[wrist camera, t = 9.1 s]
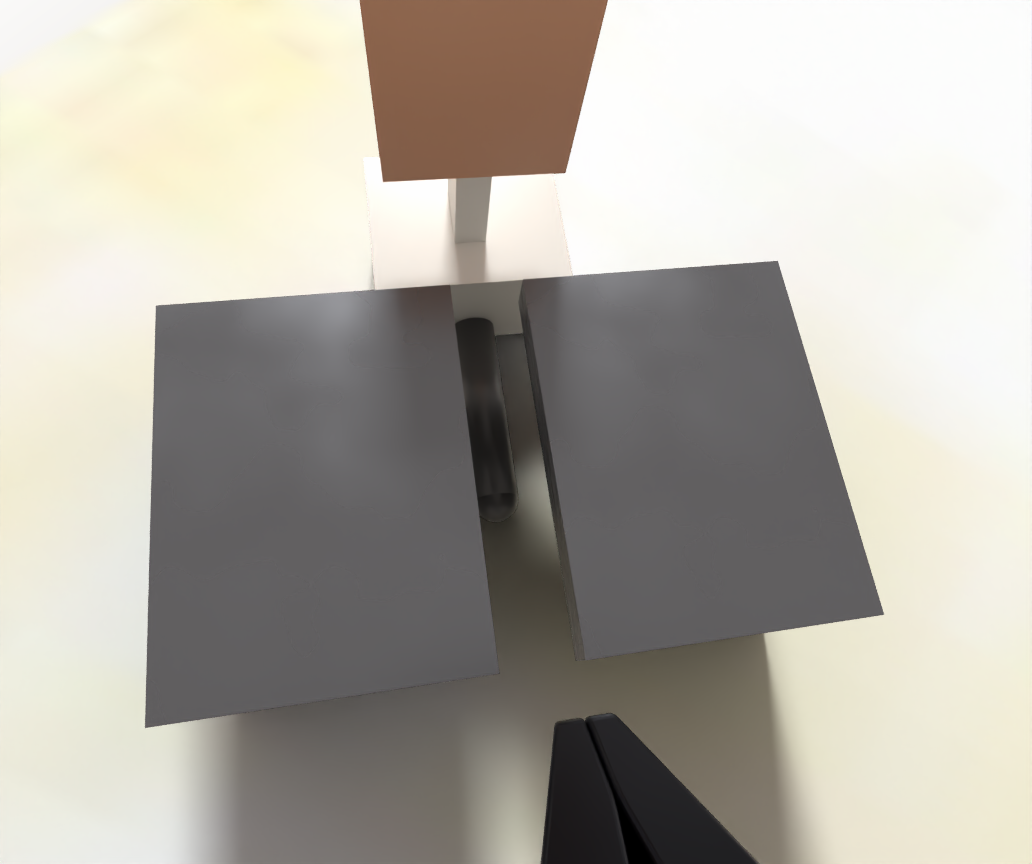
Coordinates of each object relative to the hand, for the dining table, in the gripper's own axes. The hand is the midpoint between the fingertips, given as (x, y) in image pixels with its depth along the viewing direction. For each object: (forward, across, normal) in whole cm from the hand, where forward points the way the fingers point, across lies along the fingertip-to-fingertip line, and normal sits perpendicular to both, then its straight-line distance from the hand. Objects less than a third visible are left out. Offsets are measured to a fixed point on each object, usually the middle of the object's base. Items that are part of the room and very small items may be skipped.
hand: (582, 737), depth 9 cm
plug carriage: (+12, 0, -1) cm, 12 cm away
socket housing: (+9, 0, +2) cm, 10 cm away
